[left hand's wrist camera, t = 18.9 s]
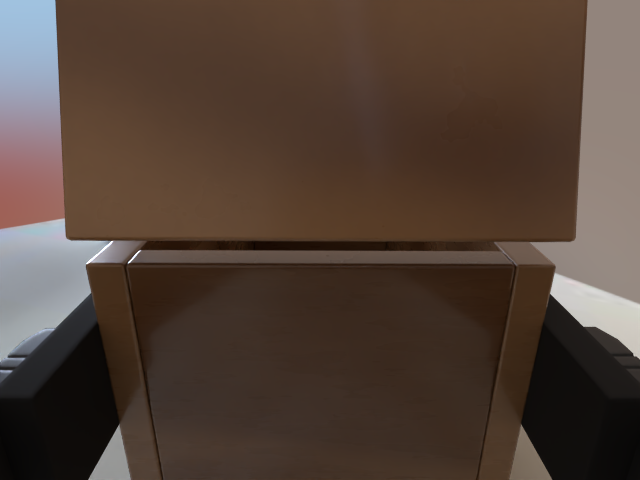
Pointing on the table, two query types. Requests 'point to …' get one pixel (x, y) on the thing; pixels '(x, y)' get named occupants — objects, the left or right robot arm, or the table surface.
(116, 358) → the chest
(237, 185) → the lid
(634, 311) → the table surface
